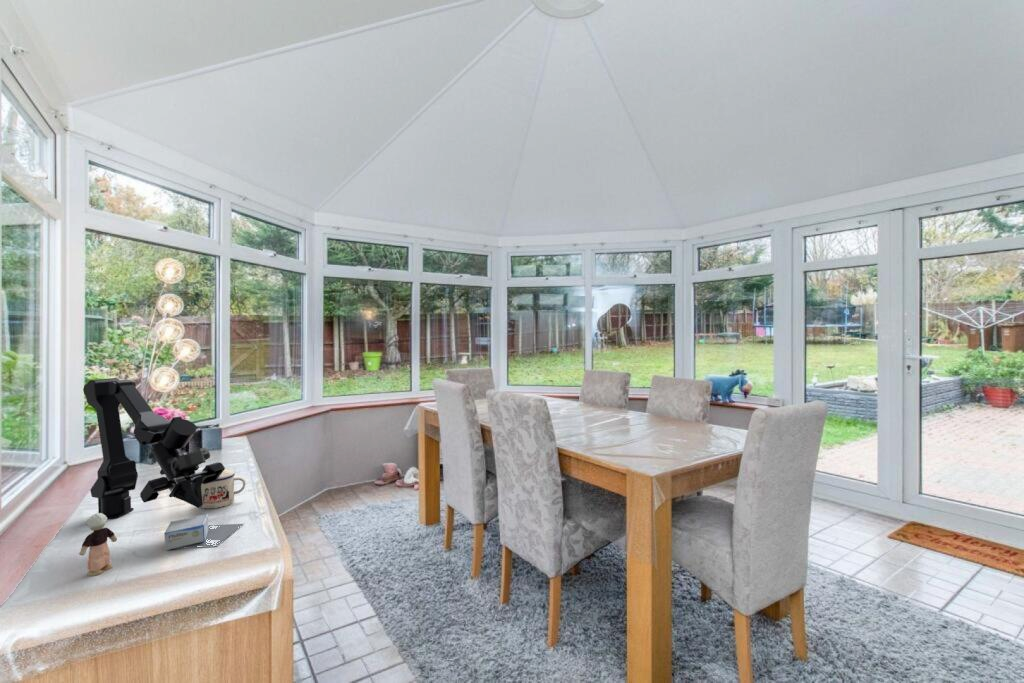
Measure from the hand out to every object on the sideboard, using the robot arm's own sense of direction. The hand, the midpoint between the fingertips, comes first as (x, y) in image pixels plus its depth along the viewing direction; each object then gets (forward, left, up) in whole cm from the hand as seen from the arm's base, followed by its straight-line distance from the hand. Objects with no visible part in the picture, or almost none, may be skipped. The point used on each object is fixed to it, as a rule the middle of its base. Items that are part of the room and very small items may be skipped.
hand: (200, 506), depth 120 cm
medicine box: (-2, 0, -5) cm, 5 cm away
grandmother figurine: (-11, -18, -7) cm, 23 cm away
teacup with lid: (-6, +23, -7) cm, 24 cm away
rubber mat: (+4, -2, -7) cm, 8 cm away
